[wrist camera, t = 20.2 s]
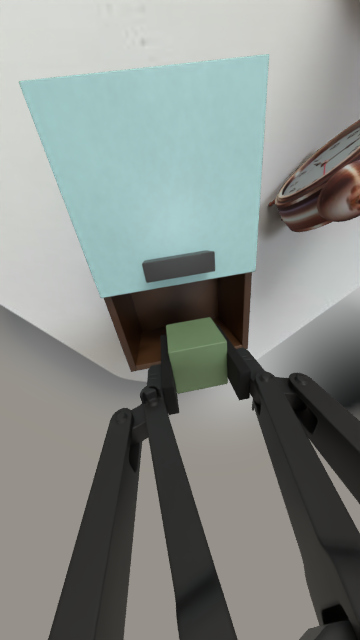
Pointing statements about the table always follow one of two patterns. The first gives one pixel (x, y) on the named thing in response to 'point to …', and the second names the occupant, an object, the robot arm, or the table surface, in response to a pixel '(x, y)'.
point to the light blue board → (158, 167)
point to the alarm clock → (324, 185)
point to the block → (197, 354)
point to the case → (179, 314)
